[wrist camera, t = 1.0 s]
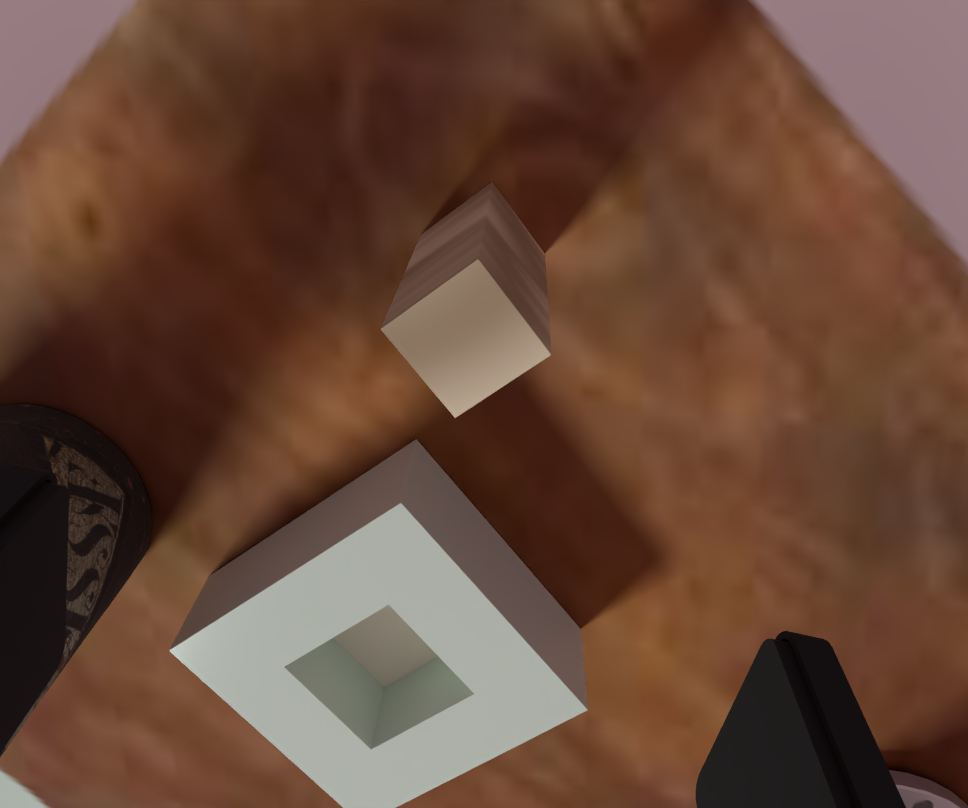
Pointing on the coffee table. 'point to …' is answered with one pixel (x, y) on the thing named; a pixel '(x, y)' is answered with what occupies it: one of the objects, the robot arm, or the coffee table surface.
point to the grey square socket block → (387, 638)
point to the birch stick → (472, 303)
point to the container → (83, 510)
